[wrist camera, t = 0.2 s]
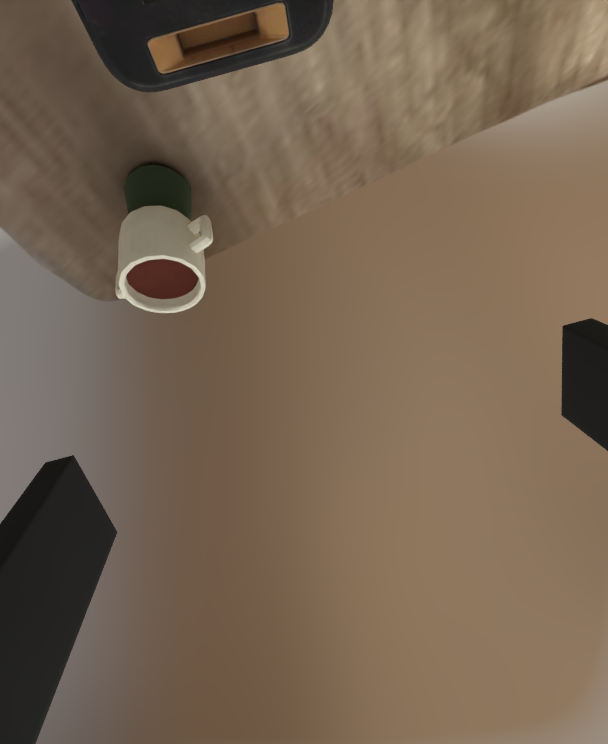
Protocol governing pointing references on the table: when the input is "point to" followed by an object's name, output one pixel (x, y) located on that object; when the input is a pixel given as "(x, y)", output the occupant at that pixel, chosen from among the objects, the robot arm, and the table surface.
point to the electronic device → (197, 36)
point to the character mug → (161, 243)
